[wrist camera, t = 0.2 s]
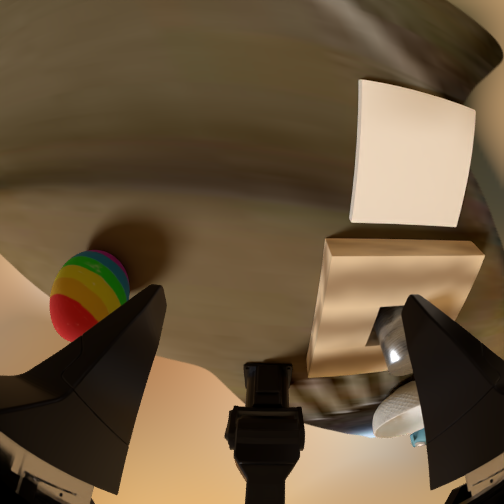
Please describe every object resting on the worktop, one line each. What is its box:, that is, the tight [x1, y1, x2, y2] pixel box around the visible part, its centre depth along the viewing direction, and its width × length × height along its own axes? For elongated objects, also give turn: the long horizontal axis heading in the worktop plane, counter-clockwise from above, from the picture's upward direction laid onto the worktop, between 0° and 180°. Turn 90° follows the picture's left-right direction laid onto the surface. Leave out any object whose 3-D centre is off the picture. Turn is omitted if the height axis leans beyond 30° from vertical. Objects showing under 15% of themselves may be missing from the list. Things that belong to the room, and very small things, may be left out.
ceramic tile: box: [349, 79, 476, 227], centre depth 19 cm, size 12×12×1 cm
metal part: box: [373, 305, 413, 376], centre depth 25 cm, size 5×5×8 cm
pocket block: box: [306, 238, 485, 378], centre depth 27 cm, size 18×18×3 cm
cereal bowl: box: [373, 381, 424, 438], centre depth 37 cm, size 17×17×7 cm
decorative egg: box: [50, 250, 130, 342], centre depth 23 cm, size 8×8×10 cm
